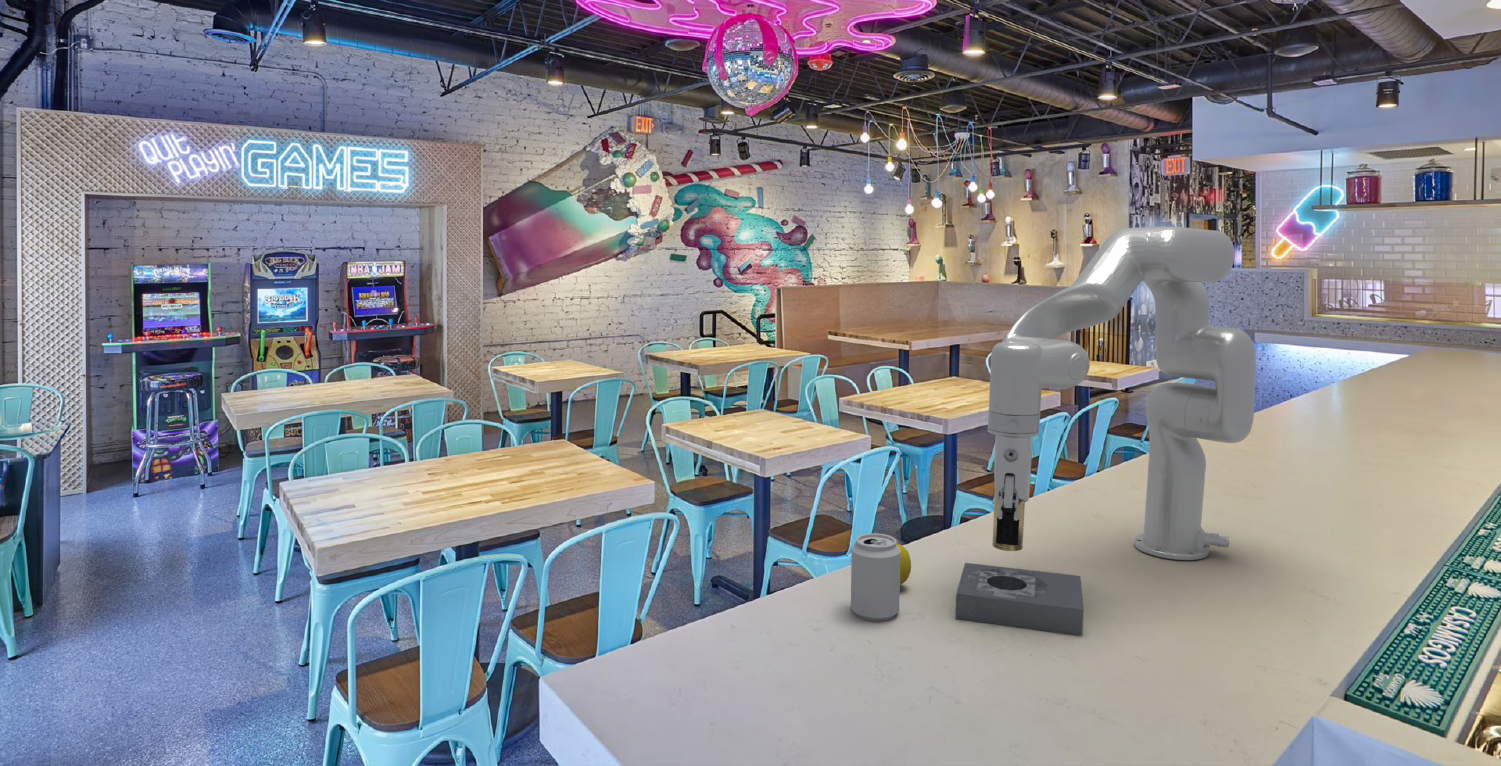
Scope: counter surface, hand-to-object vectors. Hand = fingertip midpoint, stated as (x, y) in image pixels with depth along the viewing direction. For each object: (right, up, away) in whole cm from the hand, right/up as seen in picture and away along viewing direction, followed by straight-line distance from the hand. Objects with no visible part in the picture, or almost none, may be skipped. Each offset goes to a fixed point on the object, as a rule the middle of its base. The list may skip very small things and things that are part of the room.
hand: (1007, 537), depth 131 cm
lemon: (-16, -10, +10) cm, 21 cm away
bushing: (0, -1, 0) cm, 1 cm away
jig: (+2, -11, +1) cm, 12 cm away
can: (-21, -12, 0) cm, 24 cm away
